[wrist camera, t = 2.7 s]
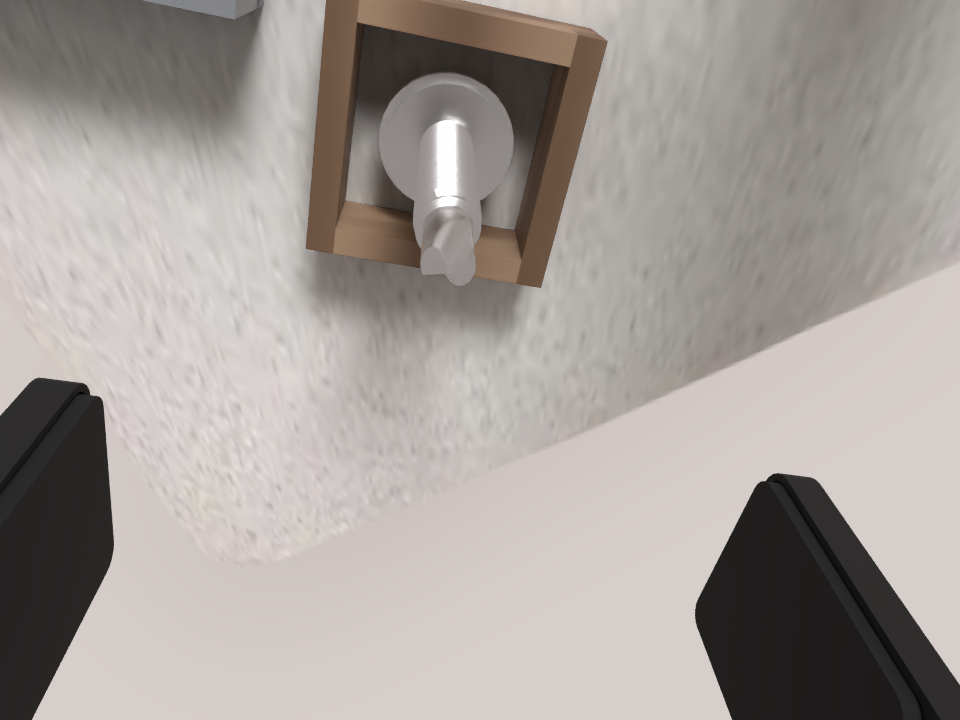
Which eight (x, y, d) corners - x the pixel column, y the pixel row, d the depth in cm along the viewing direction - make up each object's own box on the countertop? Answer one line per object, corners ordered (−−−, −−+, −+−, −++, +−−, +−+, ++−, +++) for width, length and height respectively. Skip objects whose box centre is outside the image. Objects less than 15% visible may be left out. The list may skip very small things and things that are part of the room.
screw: (361, 92, 27) (483, 41, 26) (413, 208, 29) (526, 165, 28) (303, 218, 16) (512, 135, 15) (394, 388, 18) (579, 324, 17)
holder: (591, 28, 26) (607, 41, 23) (532, 256, 30) (540, 287, 28) (339, -27, 25) (327, -20, 22) (317, 219, 29) (305, 249, 27)
